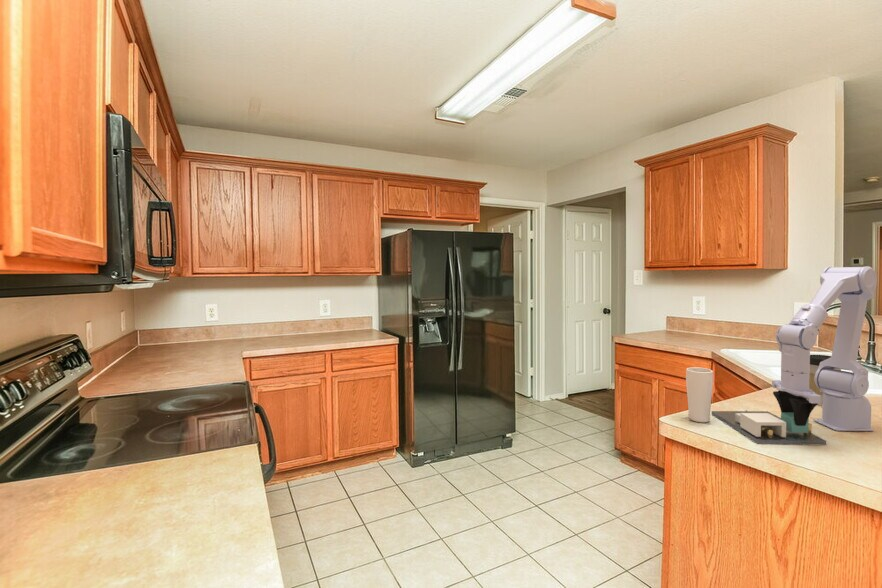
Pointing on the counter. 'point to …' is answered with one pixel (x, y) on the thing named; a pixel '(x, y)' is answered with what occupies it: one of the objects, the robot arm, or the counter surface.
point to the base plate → (768, 431)
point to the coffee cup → (814, 367)
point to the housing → (760, 423)
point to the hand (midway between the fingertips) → (794, 422)
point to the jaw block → (793, 423)
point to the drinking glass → (699, 393)
